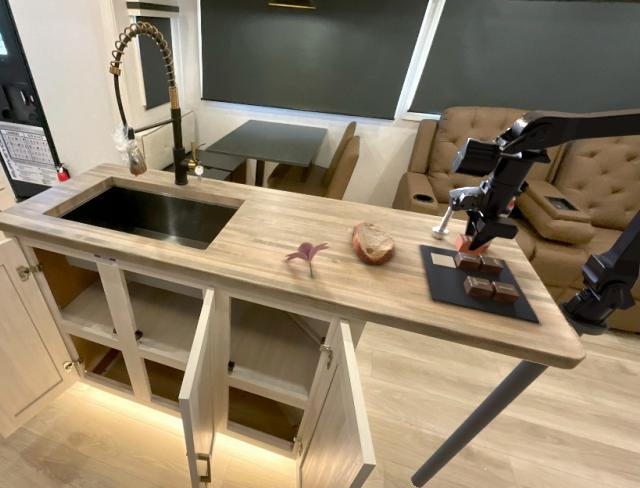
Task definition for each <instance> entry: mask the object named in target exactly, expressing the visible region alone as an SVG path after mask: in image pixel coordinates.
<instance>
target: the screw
mask: <svg viewBox="0 0 640 488" xmlns="http://www.w3.org/2000/svg"><path fill="white" fill-rule="evenodd" d="M448 206H449V207H448V209H447V210H446V213H445V215H444V217H443V218H442V221H441V223H440V225H439V226H435V227H432V229H431V231H432V232H433V237H434V238H436V239H437V240H442V239H443V238H444V237H447V236H450V231H449V230H448V229H447V228H448V225H449V223H450V221H451V219H452V217H453V215H454V213H455V211H452V210H451V207H450V205H448Z"/></svg>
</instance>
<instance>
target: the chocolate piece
mask: <svg viewBox="0 0 640 488" xmlns="http://www.w3.org/2000/svg"><path fill="white" fill-rule="evenodd" d="M464 287H465V290H466V292H467V295H472V296H477V297H481V298H486V299H488V298H489V296H490V295H491V294H492V292H493V289H492V287H491V285H490V283H489V281H488V280H486V279H480V278H475V277H470V276H468V277H467V279H466V280H465V282H464Z"/></svg>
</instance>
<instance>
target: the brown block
mask: <svg viewBox="0 0 640 488" xmlns="http://www.w3.org/2000/svg"><path fill="white" fill-rule="evenodd" d="M455 262H456V264H457V267H458V268H464V269H469V270H474V271H476V270H477V268H478V266H479V265H480V261H479V259H478V257H477V255H473V254H467V253H462V252H458V253H457V255H456V257H455Z"/></svg>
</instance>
